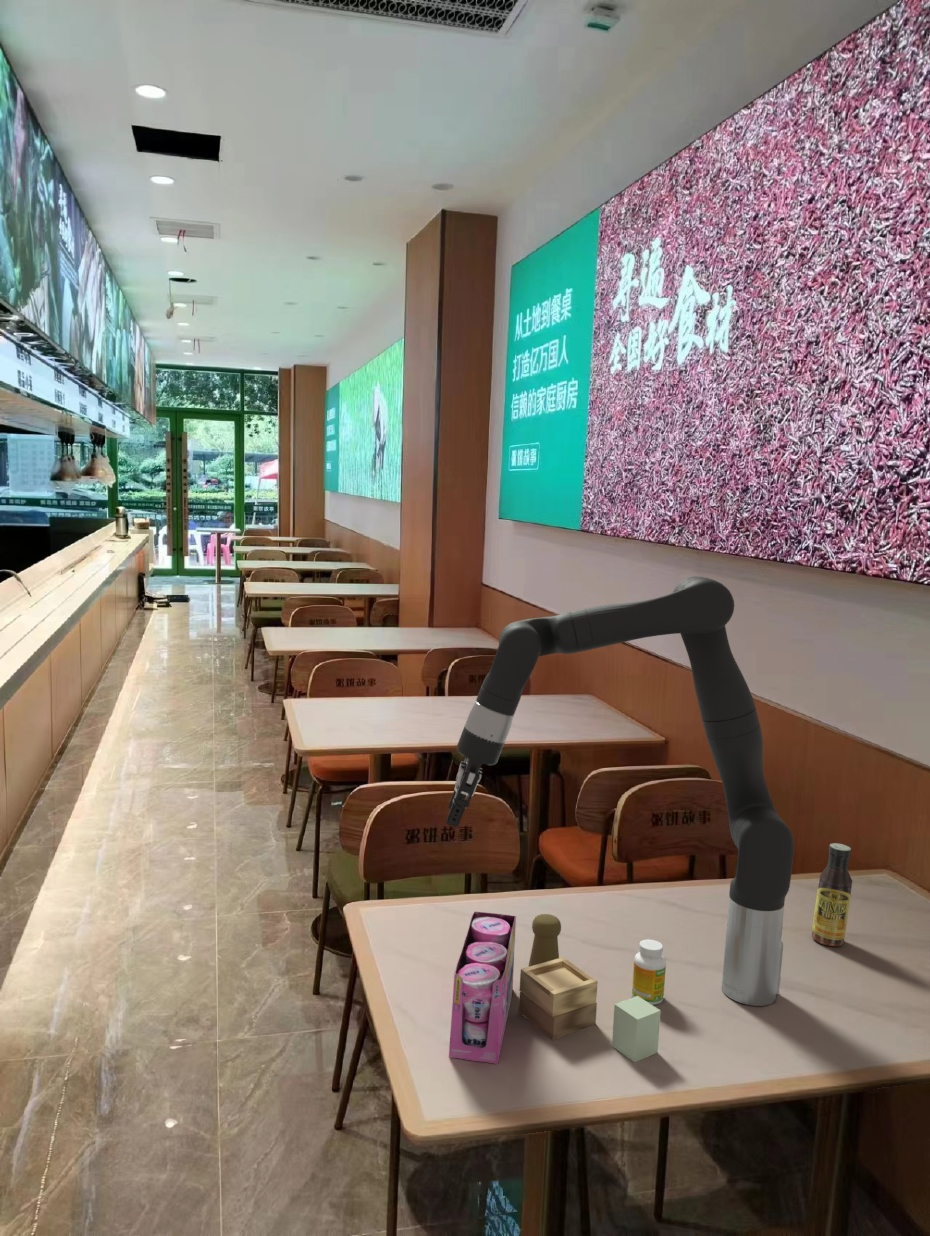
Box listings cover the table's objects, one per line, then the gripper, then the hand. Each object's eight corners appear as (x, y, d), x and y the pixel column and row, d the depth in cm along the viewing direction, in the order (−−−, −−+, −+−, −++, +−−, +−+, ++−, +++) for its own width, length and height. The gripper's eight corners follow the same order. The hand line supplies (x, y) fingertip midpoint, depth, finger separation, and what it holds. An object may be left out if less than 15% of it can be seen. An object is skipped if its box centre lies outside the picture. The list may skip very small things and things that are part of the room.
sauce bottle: (810, 944, 181) (819, 848, 179) (811, 931, 187) (820, 838, 185) (846, 951, 179) (855, 854, 177) (845, 938, 185) (855, 843, 182)
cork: (558, 986, 161) (562, 926, 160) (524, 981, 162) (528, 922, 161) (562, 969, 167) (565, 912, 166) (529, 964, 168) (532, 908, 167)
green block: (634, 1036, 146) (637, 995, 146) (657, 1052, 142) (660, 1010, 142) (611, 1046, 144) (614, 1004, 143) (634, 1062, 140) (637, 1019, 139)
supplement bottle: (656, 1009, 155) (660, 955, 154) (627, 999, 158) (630, 946, 156) (667, 995, 159) (671, 943, 158) (638, 986, 162) (642, 934, 161)
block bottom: (560, 1000, 157) (561, 978, 157) (595, 1026, 150) (596, 1003, 149) (518, 1014, 152) (519, 992, 152) (552, 1041, 145) (554, 1018, 144)
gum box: (498, 1070, 136) (502, 985, 134) (446, 1064, 137) (449, 978, 135) (513, 989, 160) (517, 915, 158) (468, 983, 161) (472, 910, 159)
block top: (562, 978, 157) (563, 957, 156) (596, 1003, 149) (597, 981, 149) (519, 990, 152) (520, 969, 151) (552, 1017, 144) (553, 994, 144)
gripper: (506, 749, 150) (471, 838, 152) (505, 730, 164) (473, 811, 166) (463, 733, 150) (429, 823, 152) (466, 715, 164) (434, 797, 166)
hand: (452, 817), depth 159 cm, fingers open, 8 cm apart
